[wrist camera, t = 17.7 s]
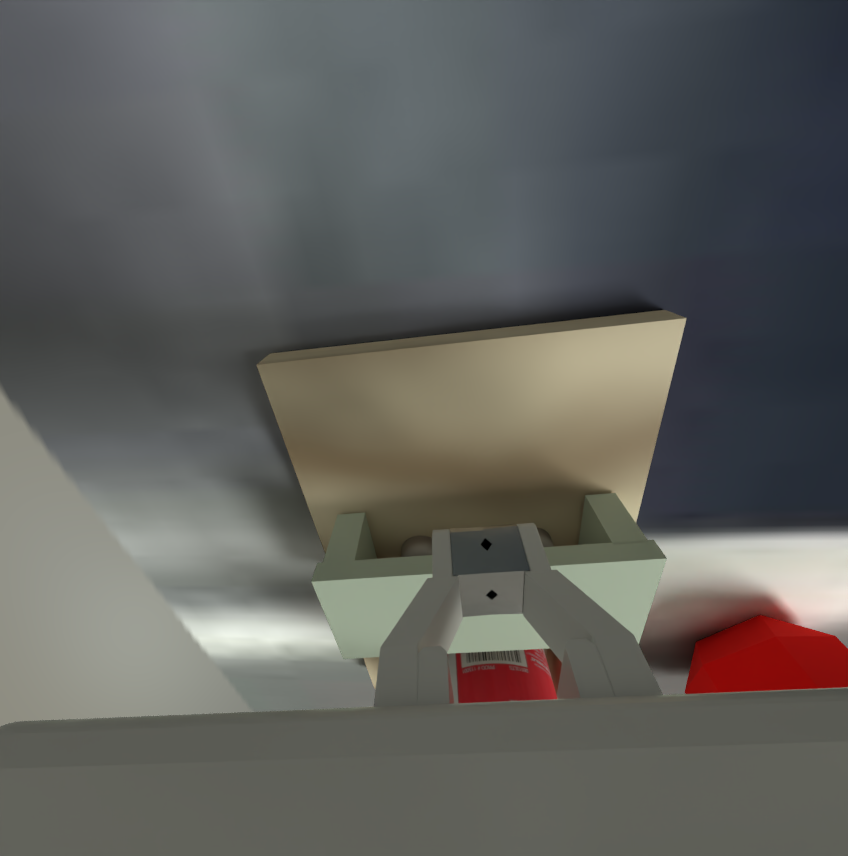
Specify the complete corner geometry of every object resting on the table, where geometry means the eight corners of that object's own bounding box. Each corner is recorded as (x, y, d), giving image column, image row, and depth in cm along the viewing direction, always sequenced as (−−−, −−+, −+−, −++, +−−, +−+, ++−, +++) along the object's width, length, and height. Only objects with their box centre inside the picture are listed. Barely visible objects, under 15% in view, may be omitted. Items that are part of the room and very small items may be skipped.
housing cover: (332, 515, 15) (311, 582, 13) (620, 492, 15) (666, 558, 12) (357, 589, 18) (343, 658, 15) (603, 573, 17) (638, 643, 14)
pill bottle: (470, 677, 22) (501, 1022, 13) (406, 632, 20) (384, 1013, 10) (560, 643, 20) (677, 1021, 11) (500, 588, 18) (582, 1010, 8)
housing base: (270, 353, 13) (227, 388, 10) (664, 309, 12) (733, 335, 9) (376, 668, 24) (370, 726, 21) (589, 658, 23) (611, 717, 20)
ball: (647, 642, 22) (740, 819, 16) (783, 581, 19) (968, 769, 13) (707, 687, 25) (808, 855, 18) (835, 640, 22) (1010, 821, 15)
